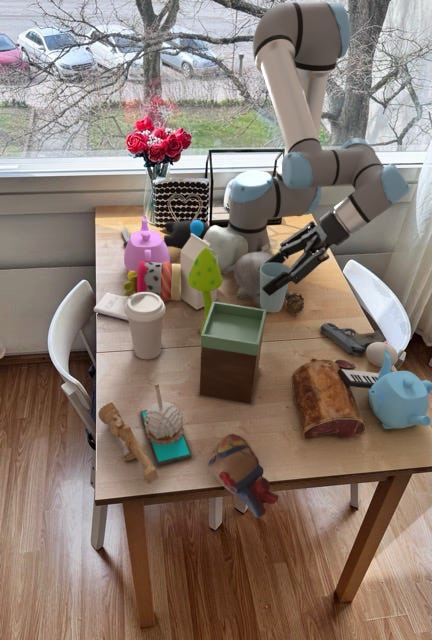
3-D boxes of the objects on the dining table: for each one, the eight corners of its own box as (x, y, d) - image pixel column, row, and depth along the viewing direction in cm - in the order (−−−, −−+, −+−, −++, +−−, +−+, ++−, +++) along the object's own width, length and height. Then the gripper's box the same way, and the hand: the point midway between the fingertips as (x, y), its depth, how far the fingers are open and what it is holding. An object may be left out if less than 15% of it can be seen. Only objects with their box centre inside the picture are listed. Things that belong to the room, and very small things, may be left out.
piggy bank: (295, 312, 147) (273, 276, 138) (242, 331, 154) (218, 298, 145) (292, 270, 159) (272, 234, 149) (243, 289, 165) (220, 256, 156)
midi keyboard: (390, 373, 132) (403, 387, 129) (387, 377, 133) (399, 391, 130) (340, 367, 123) (352, 382, 119) (336, 372, 123) (348, 386, 120)
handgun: (352, 309, 148) (320, 324, 143) (391, 337, 140) (359, 353, 135) (350, 316, 150) (318, 331, 144) (388, 344, 142) (356, 361, 137)
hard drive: (136, 323, 144) (94, 313, 146) (149, 306, 149) (107, 296, 152) (136, 318, 142) (93, 308, 145) (148, 301, 148) (107, 291, 151)
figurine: (147, 492, 107) (100, 429, 118) (165, 481, 109) (116, 419, 120) (141, 471, 102) (92, 407, 113) (160, 460, 103) (109, 397, 115)
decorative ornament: (160, 414, 121) (151, 365, 110) (190, 426, 118) (183, 377, 107) (140, 438, 116) (128, 390, 105) (170, 452, 113) (162, 404, 103)
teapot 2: (348, 417, 122) (364, 381, 114) (369, 382, 130) (385, 347, 122) (414, 450, 117) (435, 415, 109) (431, 412, 126) (451, 377, 118)
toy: (165, 210, 163) (215, 213, 162) (168, 236, 173) (215, 239, 172) (162, 232, 159) (213, 235, 158) (165, 258, 169) (213, 261, 168)
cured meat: (351, 359, 137) (358, 338, 132) (382, 436, 119) (390, 415, 115) (281, 361, 135) (284, 340, 130) (301, 439, 118) (306, 418, 113)
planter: (245, 230, 152) (211, 218, 155) (227, 272, 152) (194, 259, 155) (255, 244, 163) (223, 233, 166) (238, 283, 164) (207, 270, 167)
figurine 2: (375, 330, 135) (370, 352, 140) (364, 342, 132) (359, 363, 136) (405, 342, 132) (399, 364, 136) (395, 355, 128) (389, 376, 133)
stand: (210, 361, 134) (212, 312, 124) (258, 369, 133) (264, 320, 123) (199, 395, 126) (200, 346, 116) (250, 404, 125) (256, 355, 114)
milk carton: (196, 310, 149) (198, 249, 135) (180, 298, 152) (180, 237, 139) (216, 300, 152) (219, 240, 139) (200, 289, 156) (201, 228, 142)
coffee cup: (150, 333, 141) (147, 284, 131) (174, 351, 136) (173, 302, 126) (120, 349, 136) (115, 300, 126) (144, 369, 131) (141, 320, 121)
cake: (179, 288, 156) (126, 285, 155) (180, 255, 149) (125, 251, 148) (178, 309, 149) (123, 306, 147) (180, 275, 142) (122, 272, 140)
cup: (291, 311, 137) (297, 274, 130) (264, 317, 134) (268, 280, 127) (277, 296, 142) (282, 260, 135) (251, 301, 139) (254, 265, 133)
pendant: (308, 293, 150) (296, 285, 147) (308, 317, 147) (296, 309, 144) (294, 300, 153) (282, 293, 150) (294, 323, 150) (281, 316, 147)
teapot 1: (173, 284, 157) (172, 248, 148) (126, 287, 155) (122, 250, 146) (166, 248, 170) (165, 212, 162) (123, 249, 169) (120, 214, 160)
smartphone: (157, 463, 111) (140, 411, 120) (157, 466, 111) (140, 413, 121) (192, 455, 112) (172, 404, 122) (192, 457, 113) (172, 406, 123)
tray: (212, 312, 124) (212, 301, 122) (265, 320, 123) (266, 309, 120) (200, 346, 115) (200, 335, 113) (257, 356, 114) (258, 344, 112)
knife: (110, 228, 175) (125, 225, 177) (111, 232, 176) (125, 228, 178) (133, 254, 165) (148, 250, 167) (133, 257, 166) (148, 254, 168)
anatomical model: (198, 454, 114) (240, 510, 115) (204, 464, 101) (251, 528, 103) (234, 427, 114) (275, 483, 116) (245, 434, 102) (290, 497, 103)
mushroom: (197, 318, 146) (199, 234, 129) (225, 328, 144) (230, 244, 126) (181, 335, 141) (180, 250, 123) (209, 346, 138) (213, 261, 121)
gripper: (362, 257, 118) (279, 316, 128) (341, 210, 132) (267, 267, 143) (343, 235, 114) (258, 298, 124) (323, 189, 128) (249, 249, 139)
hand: (263, 281), depth 134 cm, fingers closed on cup, 8 cm apart
